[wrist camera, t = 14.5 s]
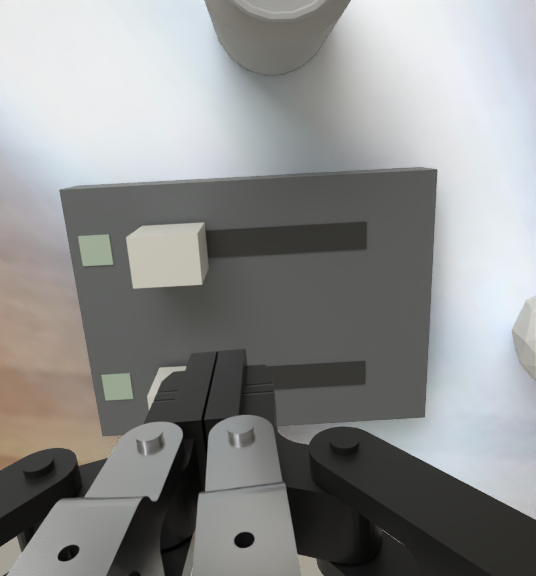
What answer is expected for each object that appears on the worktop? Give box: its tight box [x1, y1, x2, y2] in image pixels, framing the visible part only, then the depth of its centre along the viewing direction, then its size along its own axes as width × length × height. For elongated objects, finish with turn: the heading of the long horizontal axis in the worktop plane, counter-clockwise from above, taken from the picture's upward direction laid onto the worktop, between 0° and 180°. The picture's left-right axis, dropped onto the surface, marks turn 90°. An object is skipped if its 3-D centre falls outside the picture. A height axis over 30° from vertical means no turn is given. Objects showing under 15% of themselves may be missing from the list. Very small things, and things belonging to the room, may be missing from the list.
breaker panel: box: [60, 167, 437, 436], centre depth 34 cm, size 24×18×3 cm
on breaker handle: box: [126, 222, 209, 289], centre depth 29 cm, size 4×3×4 cm
